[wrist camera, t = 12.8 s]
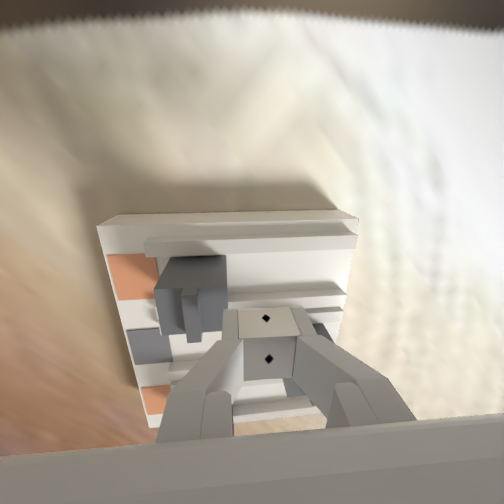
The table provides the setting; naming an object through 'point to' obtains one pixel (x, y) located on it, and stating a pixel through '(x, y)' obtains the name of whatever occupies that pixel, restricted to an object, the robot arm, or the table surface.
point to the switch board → (239, 288)
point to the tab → (192, 296)
